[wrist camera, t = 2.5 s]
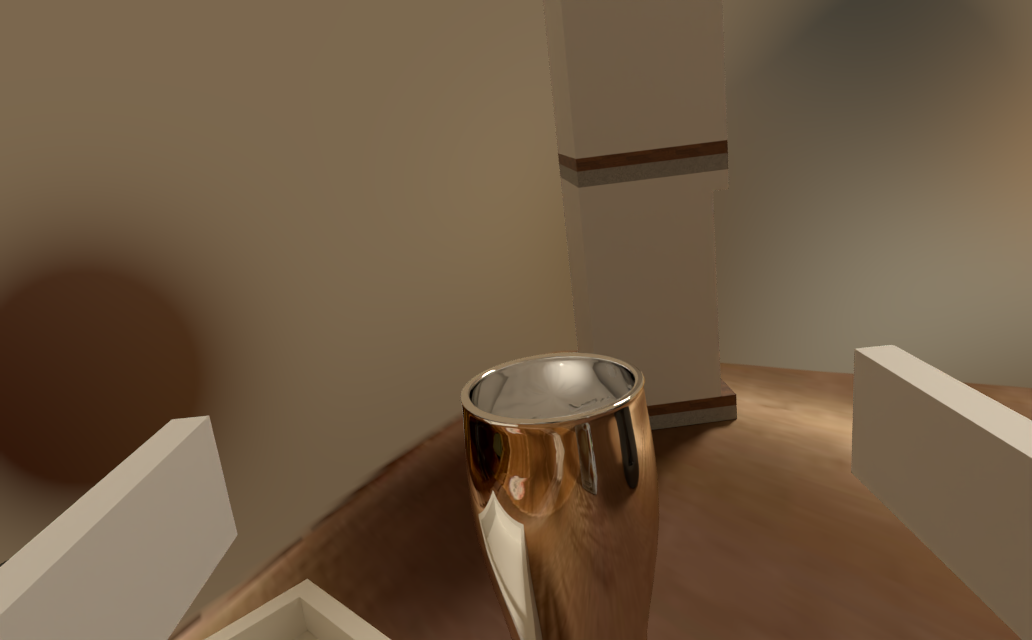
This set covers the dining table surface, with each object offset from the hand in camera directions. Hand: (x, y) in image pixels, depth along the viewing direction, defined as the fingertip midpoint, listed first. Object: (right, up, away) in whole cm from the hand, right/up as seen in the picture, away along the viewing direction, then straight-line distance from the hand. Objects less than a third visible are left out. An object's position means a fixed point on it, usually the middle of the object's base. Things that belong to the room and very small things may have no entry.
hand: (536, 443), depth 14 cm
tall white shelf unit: (+11, -4, +45) cm, 47 cm away
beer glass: (+3, -14, +15) cm, 21 cm away
